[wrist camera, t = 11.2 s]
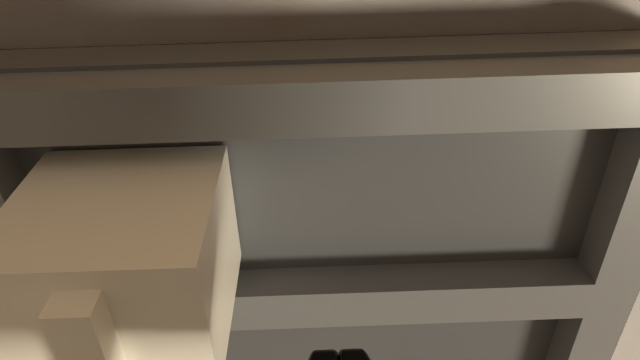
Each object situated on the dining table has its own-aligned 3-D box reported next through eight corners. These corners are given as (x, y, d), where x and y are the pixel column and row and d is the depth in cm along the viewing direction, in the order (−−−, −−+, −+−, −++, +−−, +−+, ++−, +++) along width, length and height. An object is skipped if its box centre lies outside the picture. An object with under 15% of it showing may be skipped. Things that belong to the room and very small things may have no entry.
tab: (241, 254, 14) (216, 420, 10) (84, 259, 14) (-4, 428, 10) (226, 145, 12) (189, 294, 8) (46, 151, 12) (-79, 304, 8)
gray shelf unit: (517, 477, 22) (536, 535, 20) (136, 492, 22) (120, 551, 20) (668, 29, 12) (734, 64, 10) (-44, 51, 12) (-108, 90, 10)
